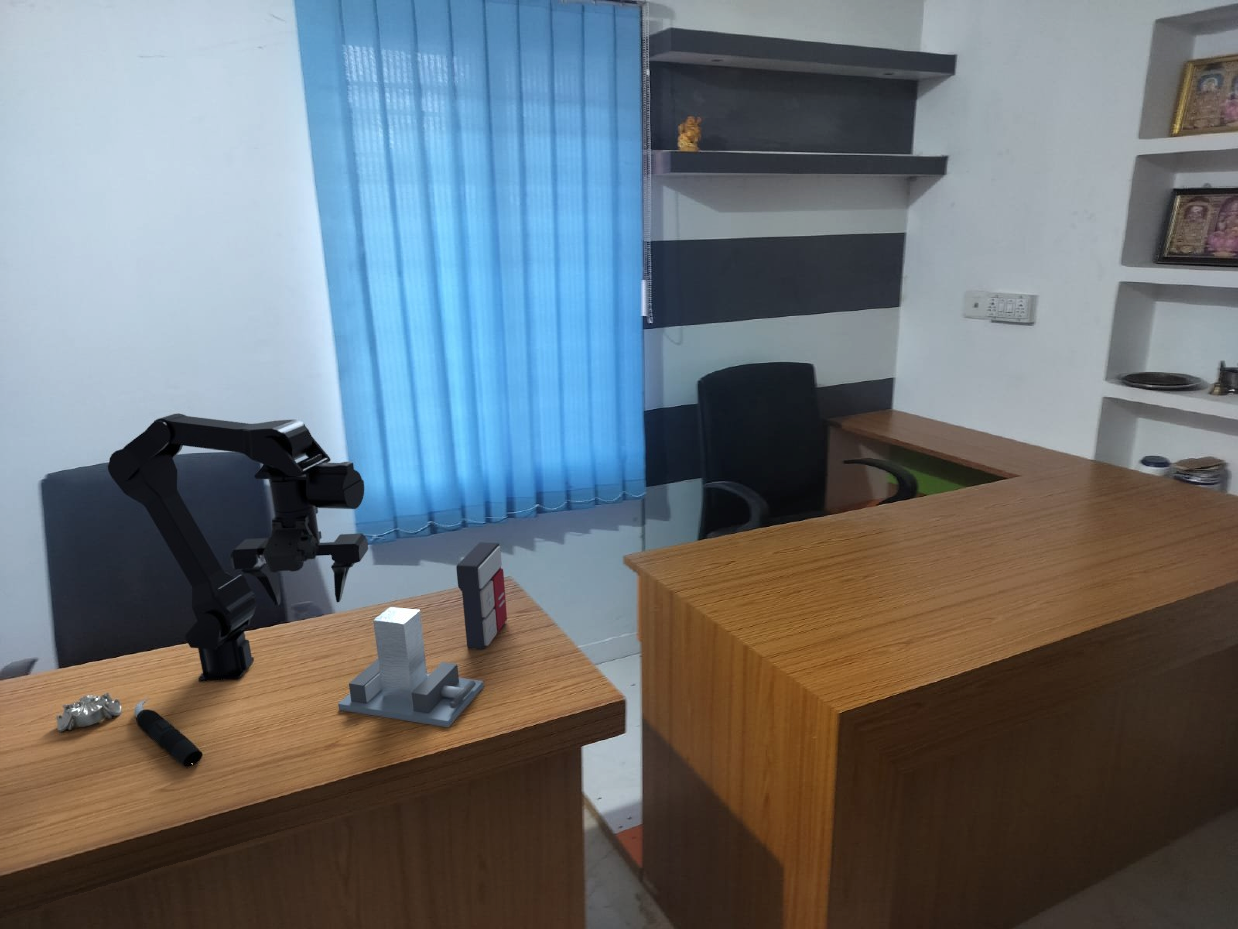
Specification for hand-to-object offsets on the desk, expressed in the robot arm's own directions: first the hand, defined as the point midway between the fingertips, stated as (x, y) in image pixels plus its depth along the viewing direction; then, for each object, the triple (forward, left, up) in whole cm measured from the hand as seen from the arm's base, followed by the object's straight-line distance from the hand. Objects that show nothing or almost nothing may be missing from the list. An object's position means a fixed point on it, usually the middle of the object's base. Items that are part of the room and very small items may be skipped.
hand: (308, 603), depth 126 cm
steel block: (+15, -7, -12) cm, 20 cm away
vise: (+16, -7, -13) cm, 22 cm away
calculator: (+25, +12, -13) cm, 31 cm away
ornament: (-31, -8, -14) cm, 35 cm away
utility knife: (-17, -14, -14) cm, 26 cm away
